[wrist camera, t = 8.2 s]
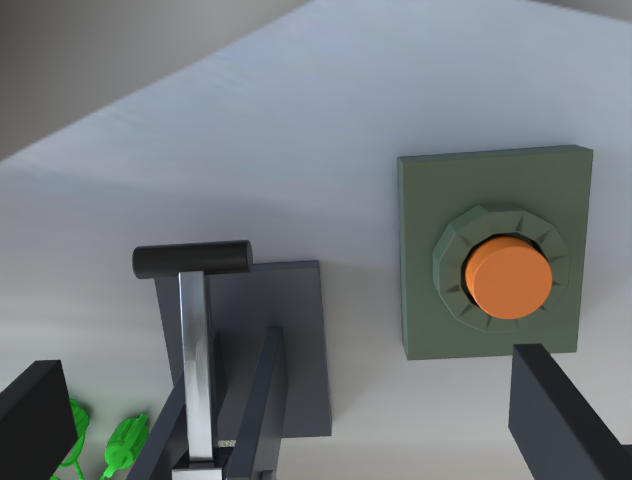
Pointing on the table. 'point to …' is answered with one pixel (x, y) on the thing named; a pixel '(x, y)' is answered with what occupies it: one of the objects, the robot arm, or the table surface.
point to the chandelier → (110, 442)
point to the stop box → (480, 226)
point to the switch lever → (197, 341)
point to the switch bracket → (249, 369)
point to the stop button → (508, 277)
